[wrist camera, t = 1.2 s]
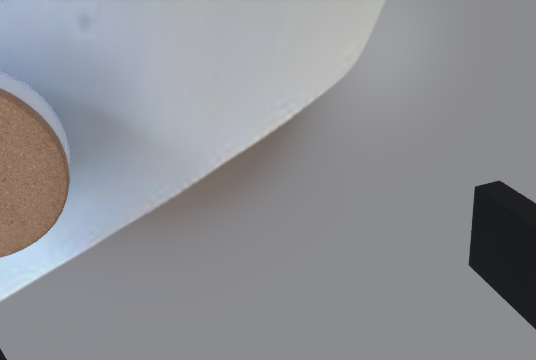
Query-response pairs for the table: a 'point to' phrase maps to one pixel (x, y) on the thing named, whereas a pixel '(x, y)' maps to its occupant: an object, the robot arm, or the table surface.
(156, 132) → the table surface
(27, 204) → the trinket box
